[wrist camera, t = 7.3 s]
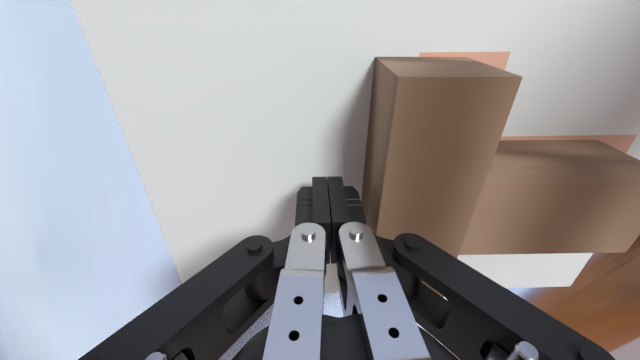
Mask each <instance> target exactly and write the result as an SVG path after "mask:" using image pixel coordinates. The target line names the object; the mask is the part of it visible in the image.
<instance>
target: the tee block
mask: <svg viewBox="0 0 640 360" xmlns="http://www.w3.org/2000/svg"><path fill="white" fill-rule="evenodd" d="M522 78H523V77H522V76H519V75H516V74H513V73H510V72H508V71H505V70H502V69H499V68H496V67H493V66H491V65H488V64H485V63H482V62H479V61H476V60H474V59H471V58H468V57H375V62H374V72H373V82H372V93H371V103H370V113H369V124H368V134H367V144H366V155H365V165H364V175H363V185H362V196H361V205H362V208H363V212H364V216H365V220H366V223H367V226H369V227H370V228H371V230H372V231H373V234H375V235H377V236H379V237H382V238H385V239H390V240H394V239H395V238H396V237H397V236H398V235H400V234H403V233H412V234H416V235H419V236H421V237H423V238H424V239H426V240H428V241H429V242H431V243H433V244H434V245H436V246H437V247H439V248H441V249H442V250H444V251H446V252H447V253H449V254H450V255H452V256H454V257H455V258H458V255H493V254H556V253H619V252H626V251H627V250H628V249H629V248H630V246H631V245H632V244H633V242H634V241H635V240H636V239H637V237H638V236H639V235H640V160H638V159H636V158H634V157H632V156H630V155H628V154H626V153H624V152H622V151H620V150H618V149H615V148H613V147H611V146H609V145H607V144H605V143H603V142H601V141H599V140H501V141H500V139H501V136H502V133H503V130H504V128H505V125H506V122H507V119H508V117H509V114H510V111H511V108H512V105H513V103H514V100H515V97H516V94H517V92H518V89H519V86H520V83H521V81H522ZM422 283H424V284H425V285H426V286H428V287H429V288H431V289H432V290H433V291H435V292H436V293H437V294H439V295H440V296H441V297H443V295H442V294H440V293H439V292H438V291H436V290H435V289H433V288H432V287H431V286H429V285H428V284H427V283H425V282H424V281H422Z"/></svg>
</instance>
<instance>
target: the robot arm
mask: <svg viewBox="0 0 640 360" xmlns="http://www.w3.org/2000/svg"><path fill="white" fill-rule="evenodd" d="M330 257H331V264H336V265H337V284H338V289H339V294H340V299H341V305H342V310H343V315H344V317H341V318H338V317H333V316H328V315H323V311H324V285H325V275H326V265H327V264H330ZM422 281H424V282H425V283H427V284H428V285H429V286H431V287H432V288H433V289H435V290H436V291H438V292H439V293H440V294H442V295H443V296H444V297H445V298H446V299H447V300H448V301H449V302H448V301H447V300H446V299H444V298H443V297H441V296H440V295H439V294H437V293H436V292H435V291H433V290H432V289H431V288H429V287H428V286H426V285H425V284H424V283H422ZM273 303H274V306H273V311H272V316H271V321H270V325H269V326H268V327H266V328H264V329H263V330H261V331H260V332H258V333H257V334H256V335H254V336H253V337H252V338H251V339H250V340H249V341H248V342H247V343H246V344H245V345H244V346H243V348H242V349H241V350H240V351H239V352H238V353H237V354H236V355H235V357H234V358H233V359H232V360H458V359H457V358H456V357H455V356H454V355H453V354H452V353H454V354H455V355H456V356H457V357H458V358H459V359H461V360H615V359H614V358H613V357H612V356H611V355H610V354H609V353H608V352H607V351H606V350H604V349H603V348H602V347H600V346H599V345H597V344H596V343H594V342H592V341H591V340H589V339H587V338H586V337H584V336H583V335H581V334H579V333H578V332H576V331H574V330H573V329H571V328H569V327H568V326H566V325H565V324H563V323H561V322H560V321H558V320H556V319H555V318H553V317H552V316H550V315H548V314H547V313H545V312H543V311H542V310H540V309H538V308H537V307H535V306H534V305H532V304H530V303H529V302H527V301H525V300H524V299H522V298H521V297H519V296H517V295H516V294H514V293H512V292H511V291H509V290H508V289H506V288H504V287H503V286H501V285H499V284H498V283H496V282H494V281H493V280H491V279H490V278H488V277H486V276H485V275H483V274H481V273H480V272H478V271H477V270H475V269H473V268H472V267H470V266H468V265H467V264H465V263H464V262H462V261H460V260H459V259H457V258H455V257H454V256H452V255H450V254H449V253H447V252H446V251H444V250H442V249H441V248H439V247H437V246H436V245H434V244H433V243H431V242H429V241H428V240H426V239H424V238H423V237H421V236H419V235H416V234H412V233H403V234H400V235H398V236H397V237H396V238H395V239H394V240H390V239H385V238H382V237H379V236H377V235H375V234H373V231H372V230H371V228H370V227H369V226H367V223H366V220H365V216H364V212H363V208H362V205H361V200H360V196H359V192H358V191H357V190H356V189H355V188H354V187H353V186H344V184H343V179H342V176H327V177H312V187H301V188H300V190H299V191H298V192H297V201H296V215H295V228H294V229H293V230H292V233H291V235H289V236H288V237H286V238H285V239H282V240H279V241H275V242H272V241H271V240H270V239H269V238H267V237H265V236H261V235H254V236H250V237H247V238H245V239H243V240H242V241H241V242H239V243H238V244H236V245H235V246H234V247H232V248H231V249H230V250H228V251H227V252H225V253H224V254H223V255H221V256H220V257H219V258H217V259H216V260H214V261H213V262H212V263H210V264H209V265H207V266H206V267H205V268H203V269H202V270H201V271H199V272H198V273H196V274H195V275H194V276H192V277H191V278H190V279H188V280H187V281H185V282H184V283H183V284H181V285H180V286H179V287H177V288H176V289H174V290H173V291H172V292H170V293H169V294H168V295H166V296H165V297H163V298H162V299H161V300H159V301H158V302H157V303H155V304H154V305H152V306H151V307H150V308H148V309H147V310H146V311H144V312H143V313H141V314H140V315H139V316H137V317H136V318H135V319H133V320H132V321H130V322H129V323H128V324H126V325H125V326H124V327H122V328H121V329H119V330H118V331H117V332H115V333H114V334H113V335H111V336H110V337H108V338H107V339H106V340H104V341H103V342H102V343H100V344H99V345H97V346H96V347H95V348H93V349H92V350H91V351H89V352H88V353H86V354H85V355H84V356H82V357H81V358H80V359H78V360H218V359H219V358H220V357H221V356H222V355H223V354H224V353H225V352H226V351H227V350H228V349H229V348H230V347H231V346H232V345H233V344H234V343H235V342H236V341H237V340H238V339H239V338H240V337H241V336H242V335H243V334H244V333H245V332H246V331H247V330H248V329H249V328H250V327H251V325H252V324H253V323H254V322H255V321H256V320H257V319H258V318H259V317H260V316H261V315H262V314H263V313H264V312H265V311H266V310H267V309H268V308H269V307H270V306H271V305H272V304H273ZM416 322H417V323H418V324H419V325H421V326H422V327H423V328H424V329H425V330H426V331H428V332H429V333H430V334H431V335H432V336H431V335H430V334H429V333H428V332H426V331H425V330H423V329H422V328H420V327H418V326H417V323H416ZM434 337H435V338H436V339H437V340H438V341H439V342H441V343H442V344H443V345H444V346H445V347H446V348H448V349H449V350H450V351H451V352H452V353H450V352H449V351H448V350H447V349H446V348H445V347H444V346H443V345H441V344H440V343H439V342H438V341H437V340H436V339H435V338H434Z"/></svg>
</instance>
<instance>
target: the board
mask: <svg viewBox="0 0 640 360" xmlns="http://www.w3.org/2000/svg"><path fill="white" fill-rule="evenodd" d="M71 2H72V5H73V8H74V10H75V13H76V15H77V18H78V20H79V23H80V25H81V28H82V30H83V33H84V36H85V38H86V41H87V43H88V46H89V48H90V51H91V53H92V56H93V58H94V61H95V64H96V66H97V69H98V71H99V74H100V76H101V79H102V81H103V84H104V86H105V89H106V92H107V94H108V97H109V99H110V102H111V104H112V107H113V109H114V112H115V114H116V117H117V120H118V122H119V125H120V127H121V130H122V132H123V135H124V137H125V140H126V142H127V145H128V148H129V150H130V153H131V155H132V158H133V160H134V163H135V165H136V168H137V170H138V173H139V176H140V178H141V181H142V183H143V186H144V188H145V191H146V193H147V196H148V198H149V201H150V204H151V206H152V209H153V211H154V214H155V216H156V219H157V221H158V224H159V226H160V229H161V232H162V234H163V237H164V239H165V242H166V244H167V247H168V249H169V252H170V254H171V257H172V260H173V262H174V265H175V267H176V270H177V272H178V275H179V277H180V280H181V283H182V284H183V283H184V282H185V281H187V280H188V279H190V278H191V277H192V276H194V275H195V274H196V273H198V272H199V271H201V270H202V269H203V268H205V267H206V266H207V265H209V264H210V263H212V262H213V261H214V260H216V259H217V258H219V257H220V256H221V255H223V254H224V253H225V252H227V251H228V250H230V249H231V248H232V247H234V246H235V245H236V244H238V243H239V242H241V241H242V240H243V239H245V238H247V237H250V236H254V235H261V236H265V237H267V238H269V239H270V240H271V241H272V242H275V241H279V240H282V239H285V238H286V237H288V236H289V235H291V233H292V230H293V229H294V228H295V215H296V201H297V192H298V191H299V190H300V188H301V187H312V177H327V176H342V179H343V184H344V186H353V187H354V188H355V189H356V190H357V191H358V192H359V196H360V200H361V196H362V185H363V175H364V165H365V155H366V144H367V134H368V124H369V113H370V103H371V93H372V82H373V72H374V62H375V57H468V58H471V59H474V60H476V61H479V62H482V63H485V64H488V65H491V66H493V67H496V68H499V69H502V70H505V71H508V72H510V73H513V74H516V75H519V76H522V77H523V78H522V81H521V83H520V86H519V89H518V92H517V94H516V97H515V100H514V103H513V105H512V108H511V111H510V114H509V117H508V119H507V122H506V125H505V128H504V130H503V133H502V136H501V139H500V141H501V140H599V141H601V142H603V143H605V144H607V145H609V146H611V147H613V148H615V149H618V150H620V151H622V152H624V153H626V154H628V155H630V156H632V157H634V158H636V159H638V160H640V0H71ZM592 254H593V253H556V254H493V255H458V258H457V259H459V260H460V261H462V262H464V263H465V264H467V265H468V266H470V267H472V268H473V269H475V270H477V271H478V272H480V273H481V274H483V275H485V276H486V277H488V278H490V279H491V280H493V281H494V282H496V283H498V284H499V285H501V286H503V287H504V288H522V287H563V286H571V284H572V283H573V282H574V280H575V279H576V277H577V276H578V274H579V273H580V271H581V270H582V269H583V267H584V266H585V264H586V263H587V261H588V260H589V258H590V257H591V256H592ZM324 292H339V289H338V284H337V265H336V264H331V257H330V264H327V265H326V275H325V285H324Z"/></svg>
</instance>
